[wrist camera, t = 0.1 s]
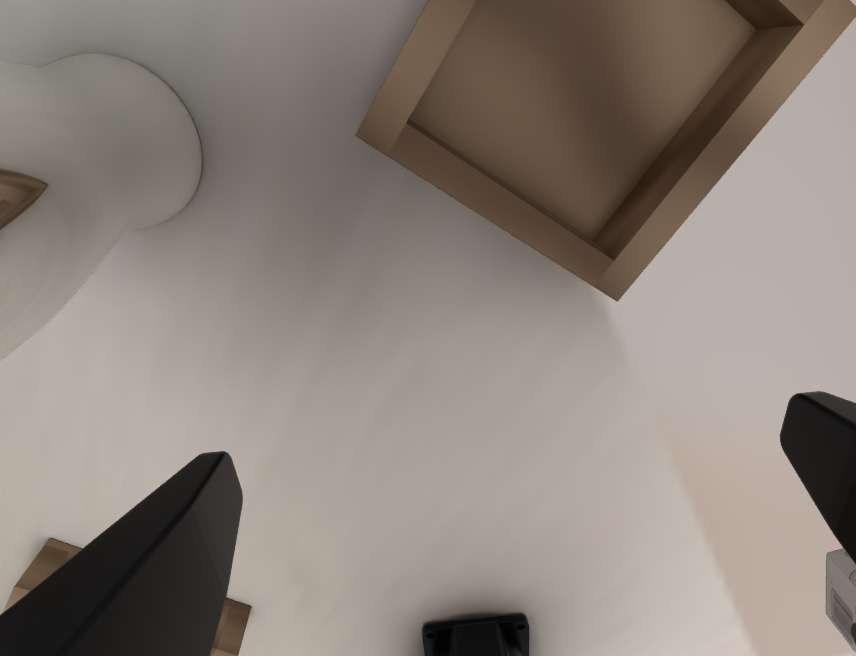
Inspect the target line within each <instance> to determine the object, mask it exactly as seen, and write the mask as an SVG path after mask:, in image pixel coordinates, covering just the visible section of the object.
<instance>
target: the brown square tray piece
mask: <svg viewBox="0 0 856 656" xmlns="http://www.w3.org/2000/svg"><path fill="white" fill-rule="evenodd" d="M80 550H82V549H80V548H77V547H74V546H71V545H68V544H65V543H63V542H60V541H57V540H54V539H51V538H50V539H49V540H48V541H47V543H46V544H45V546H44V547H43V548H42V550H41V551H40V552H39V554H38V555H37V556H36V558H35V559H34V561H33V562H32V563H31V565H30V566H29V567H28V569H27V570H26V571H25V573H24V574H23V575H22V577H21V578H20V580H19V581H18V582H17V584H16V585H15V586H14V589H13V591H12V593H11V596H10V598H9V600H8V603H7V605H6V607H5V609H4V612H5V611H6V610H7V609H8V608H9V607H11V606H12V605H13V604H14V603H16V602H17V601H18V600H19V599H21V598H22V597H23V596H24V595H26V594H27V593H28V592H29V591H31V590H32V589H33V588H34V587H36V586H37V585H38V584H39V583H41V582H42V581H43V580H44V579H46V578H47V577H48V576H49V575H51V574H52V573H53V572H54V571H55V570H57V569H58V568H59V567H60V566H62V565H63V564H64V563H65V562H67V561H68V560H69V559H70V558H72V557H73V556H74V555H75V554H77V553H78V552H79V551H80ZM250 610H251V607H250V606H248V605H245V604H242V603H239V602H236V601H233V600H230V599H227V598H226V600H225V603H224V607H223V611H222V615H221V618H220V622H219V625H218V629H217V632H216V636H215V639H214V643H213V646H212V650H211V653H210V656H238V654H239V650H240V647H241V643H242V639H243V636H244V632H245V628H246V625H247V621H248V617H249V614H250Z"/></svg>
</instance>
